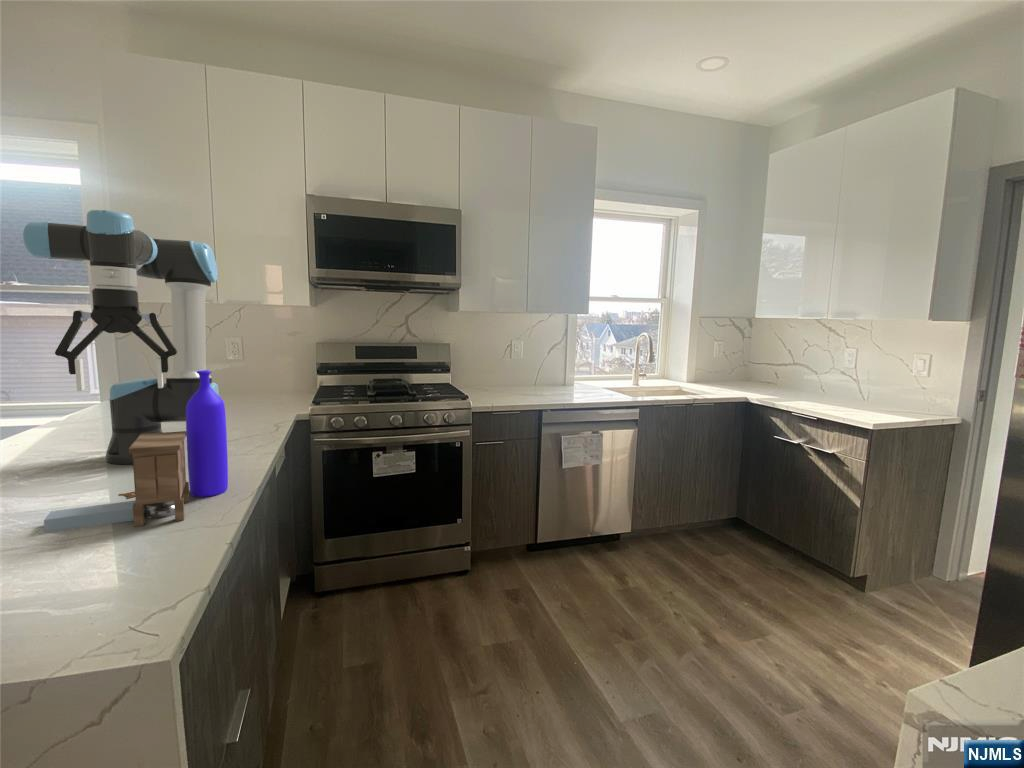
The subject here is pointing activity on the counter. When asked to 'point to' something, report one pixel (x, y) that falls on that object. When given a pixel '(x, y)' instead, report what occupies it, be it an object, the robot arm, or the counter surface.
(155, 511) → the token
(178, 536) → the counter surface
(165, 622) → the counter surface
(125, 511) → the batten
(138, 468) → the cabinet
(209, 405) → the bottle
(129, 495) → the saw handle
